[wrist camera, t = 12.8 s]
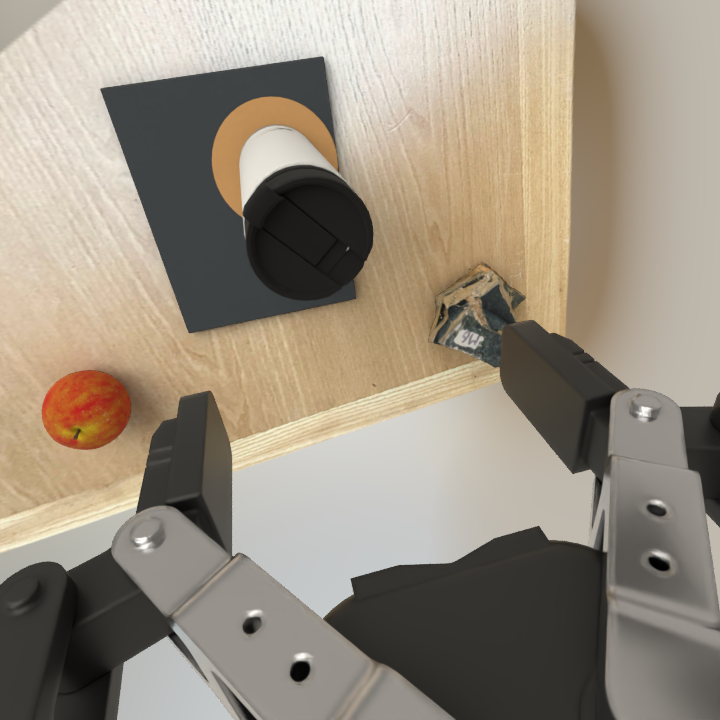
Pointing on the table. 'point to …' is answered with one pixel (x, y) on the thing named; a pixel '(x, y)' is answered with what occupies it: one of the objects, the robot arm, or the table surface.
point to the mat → (215, 176)
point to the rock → (475, 314)
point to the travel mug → (300, 216)
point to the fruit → (86, 410)
